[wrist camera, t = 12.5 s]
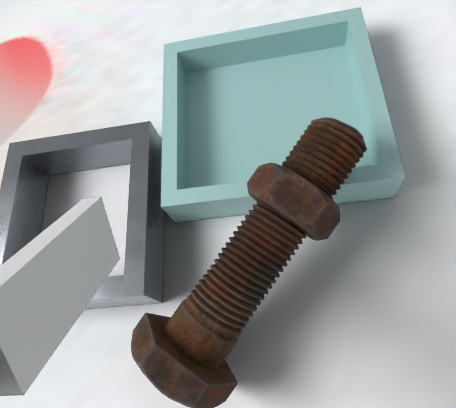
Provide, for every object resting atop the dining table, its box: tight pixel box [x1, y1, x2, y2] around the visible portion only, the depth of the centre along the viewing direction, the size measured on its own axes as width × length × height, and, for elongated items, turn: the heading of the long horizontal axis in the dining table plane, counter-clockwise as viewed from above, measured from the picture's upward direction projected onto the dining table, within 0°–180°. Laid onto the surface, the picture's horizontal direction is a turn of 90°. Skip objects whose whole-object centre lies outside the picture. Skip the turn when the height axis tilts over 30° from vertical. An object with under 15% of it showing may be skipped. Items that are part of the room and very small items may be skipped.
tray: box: [161, 7, 406, 222], centre depth 25 cm, size 14×13×3 cm
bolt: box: [131, 117, 367, 408], centre depth 19 cm, size 6×5×15 cm
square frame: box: [0, 121, 164, 309], centre depth 25 cm, size 10×11×3 cm
